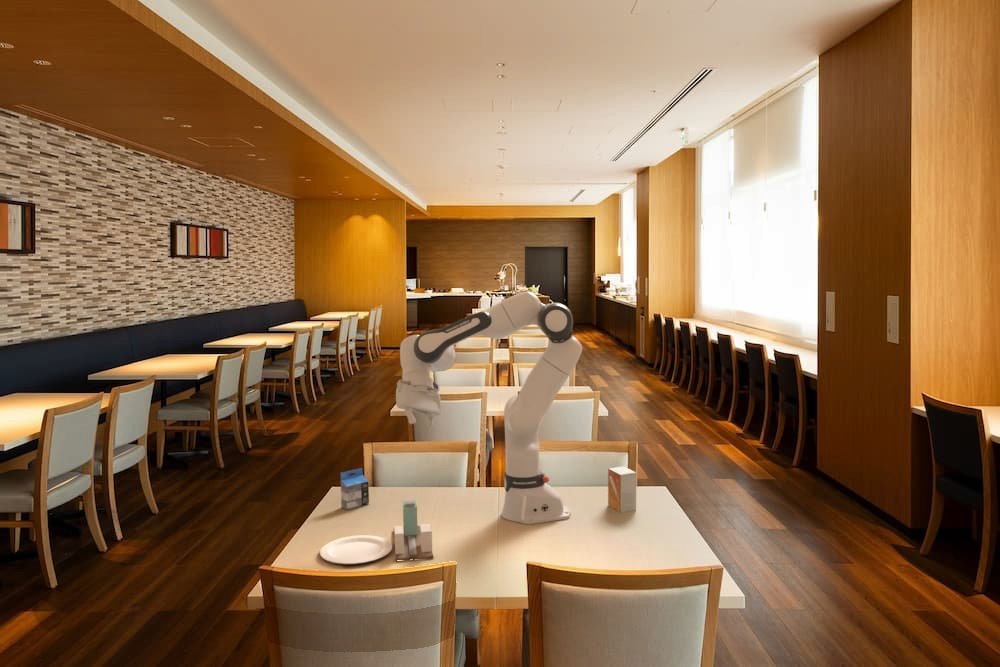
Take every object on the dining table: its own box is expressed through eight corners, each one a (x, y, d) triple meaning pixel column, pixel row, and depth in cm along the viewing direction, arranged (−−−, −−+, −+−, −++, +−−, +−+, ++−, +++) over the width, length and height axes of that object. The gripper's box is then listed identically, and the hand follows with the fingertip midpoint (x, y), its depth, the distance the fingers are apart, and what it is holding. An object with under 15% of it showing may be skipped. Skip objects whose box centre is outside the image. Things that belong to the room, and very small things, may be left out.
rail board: (427, 528, 237) (427, 524, 237) (433, 558, 214) (432, 554, 213) (393, 530, 235) (393, 526, 235) (395, 561, 212) (395, 557, 212)
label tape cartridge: (346, 510, 255) (345, 475, 253) (341, 507, 258) (339, 472, 256) (369, 504, 260) (368, 469, 259) (363, 501, 263) (362, 467, 262)
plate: (346, 536, 232) (346, 531, 232) (405, 545, 224) (405, 540, 224) (304, 562, 213) (304, 556, 213) (367, 573, 205) (367, 567, 205)
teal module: (416, 527, 233) (415, 497, 232) (417, 534, 228) (416, 504, 227) (403, 528, 233) (402, 498, 232) (404, 535, 227) (403, 505, 226)
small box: (607, 505, 256) (607, 468, 255) (623, 502, 259) (623, 465, 257) (620, 512, 249) (620, 474, 247) (636, 510, 251) (636, 472, 250)
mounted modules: (430, 543, 222) (430, 523, 222) (432, 551, 216) (431, 531, 216) (394, 546, 221) (394, 526, 220) (395, 554, 215) (394, 533, 214)
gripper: (404, 375, 234) (409, 418, 229) (442, 387, 251) (447, 427, 246) (389, 381, 236) (393, 423, 231) (427, 392, 253) (431, 431, 248)
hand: (421, 425), depth 239 cm, fingers open, 8 cm apart
